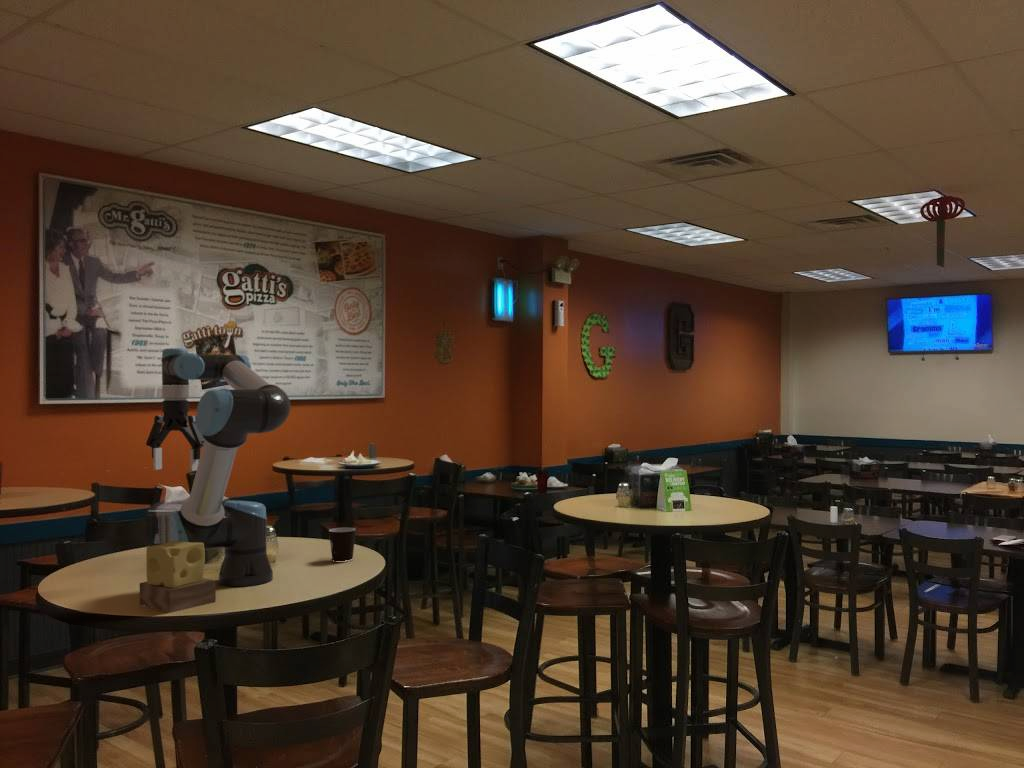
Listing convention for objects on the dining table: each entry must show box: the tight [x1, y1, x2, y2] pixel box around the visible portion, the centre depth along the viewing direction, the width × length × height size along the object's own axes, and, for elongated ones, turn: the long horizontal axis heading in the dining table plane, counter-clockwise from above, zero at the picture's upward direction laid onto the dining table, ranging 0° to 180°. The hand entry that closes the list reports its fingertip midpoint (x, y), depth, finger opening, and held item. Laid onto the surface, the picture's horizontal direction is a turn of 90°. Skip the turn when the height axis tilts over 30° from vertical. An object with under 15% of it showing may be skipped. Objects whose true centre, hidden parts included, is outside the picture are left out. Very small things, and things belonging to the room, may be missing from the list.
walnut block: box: [139, 577, 217, 614], centre depth 219 cm, size 14×13×6 cm
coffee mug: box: [328, 527, 357, 561], centre depth 274 cm, size 12×9×10 cm
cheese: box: [145, 541, 206, 588], centre depth 218 cm, size 10×11×10 cm
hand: (175, 470), depth 253 cm, fingers open, 13 cm apart
